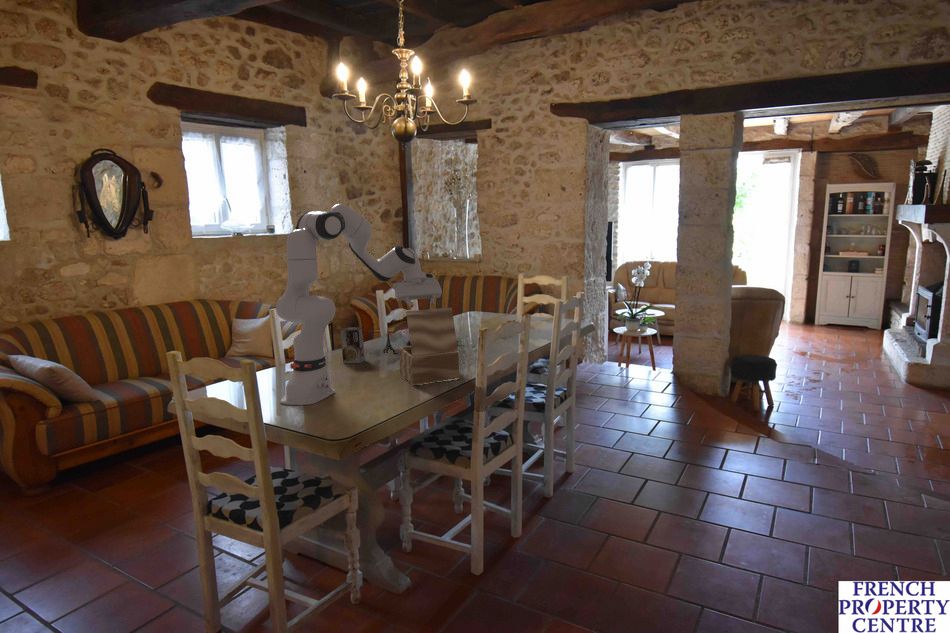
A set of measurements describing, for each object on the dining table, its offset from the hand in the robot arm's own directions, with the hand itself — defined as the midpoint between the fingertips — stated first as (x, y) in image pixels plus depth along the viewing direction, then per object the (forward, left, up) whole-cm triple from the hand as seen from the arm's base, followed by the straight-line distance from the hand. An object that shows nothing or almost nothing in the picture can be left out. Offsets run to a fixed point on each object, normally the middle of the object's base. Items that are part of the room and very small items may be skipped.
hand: (422, 305), depth 245 cm
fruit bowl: (+63, +13, -30) cm, 71 cm away
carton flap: (-10, -6, -9) cm, 15 cm away
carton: (-5, -3, -30) cm, 30 cm away
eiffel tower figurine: (+39, +28, -31) cm, 57 cm away
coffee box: (+19, +39, -30) cm, 53 cm away
